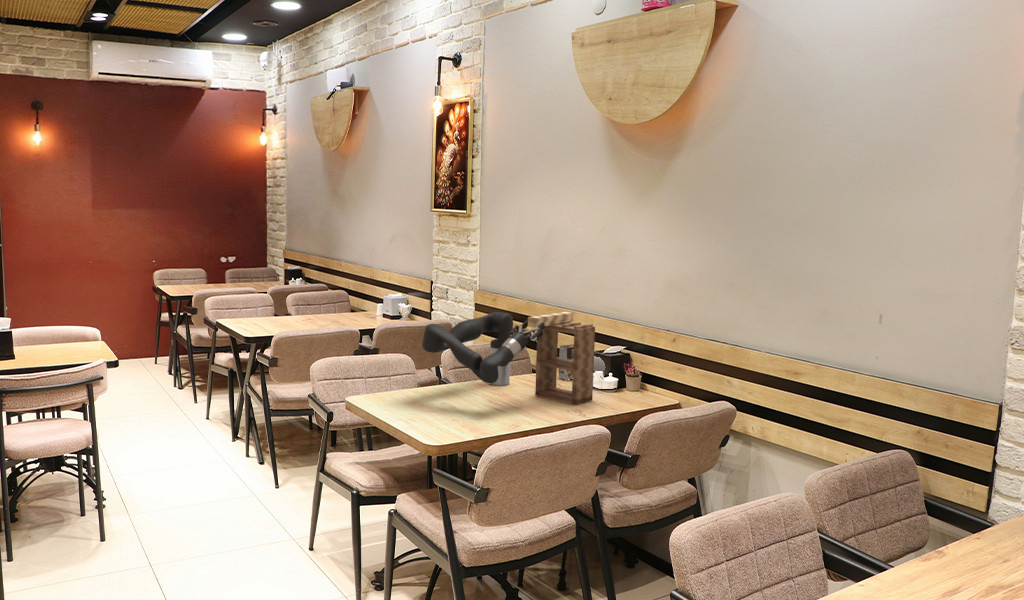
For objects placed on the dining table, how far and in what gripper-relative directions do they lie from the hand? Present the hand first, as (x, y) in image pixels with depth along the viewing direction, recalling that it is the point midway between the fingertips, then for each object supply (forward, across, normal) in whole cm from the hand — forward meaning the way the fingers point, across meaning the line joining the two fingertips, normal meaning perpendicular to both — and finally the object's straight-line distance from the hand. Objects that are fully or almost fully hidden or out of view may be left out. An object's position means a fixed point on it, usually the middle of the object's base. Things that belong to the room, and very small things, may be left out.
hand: (536, 323), depth 334 cm
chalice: (+20, -7, +51) cm, 55 cm away
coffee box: (+22, +15, +52) cm, 58 cm away
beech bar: (+8, 0, +6) cm, 10 cm away
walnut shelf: (-6, -6, +35) cm, 36 cm away
